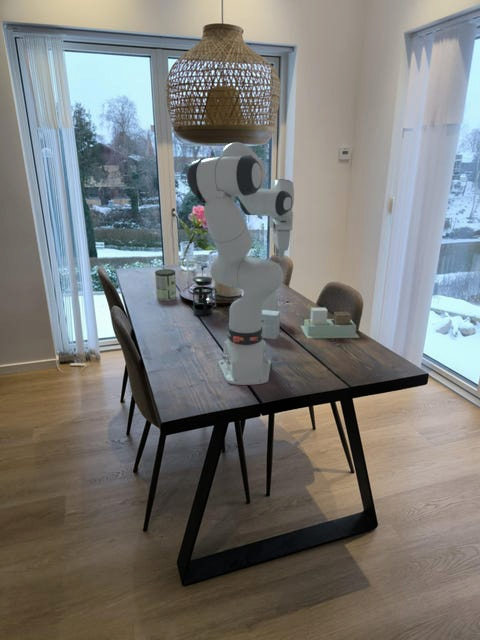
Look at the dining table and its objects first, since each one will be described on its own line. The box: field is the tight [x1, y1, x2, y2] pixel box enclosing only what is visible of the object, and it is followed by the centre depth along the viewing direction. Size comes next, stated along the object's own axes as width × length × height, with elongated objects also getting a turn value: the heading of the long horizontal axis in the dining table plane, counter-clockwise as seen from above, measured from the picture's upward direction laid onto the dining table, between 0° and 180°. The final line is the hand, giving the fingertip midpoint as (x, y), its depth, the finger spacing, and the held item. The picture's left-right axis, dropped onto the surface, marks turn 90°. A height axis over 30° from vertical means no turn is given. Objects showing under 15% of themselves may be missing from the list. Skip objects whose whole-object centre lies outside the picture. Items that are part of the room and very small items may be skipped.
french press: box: [192, 264, 218, 318], centre depth 203 cm, size 12×9×23 cm
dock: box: [300, 318, 361, 339], centre depth 184 cm, size 14×22×5 cm, turn 94°
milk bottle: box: [262, 291, 278, 311], centre depth 195 cm, size 8×8×20 cm
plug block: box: [310, 307, 329, 325], centre depth 182 cm, size 4×6×10 cm, turn 94°
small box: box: [261, 310, 281, 340], centre depth 180 cm, size 8×6×10 cm
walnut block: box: [333, 311, 352, 325], centre depth 184 cm, size 4×6×8 cm, turn 94°
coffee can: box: [154, 268, 177, 302], centre depth 226 cm, size 10×10×14 cm
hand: (279, 257), depth 175 cm, fingers open, 8 cm apart
